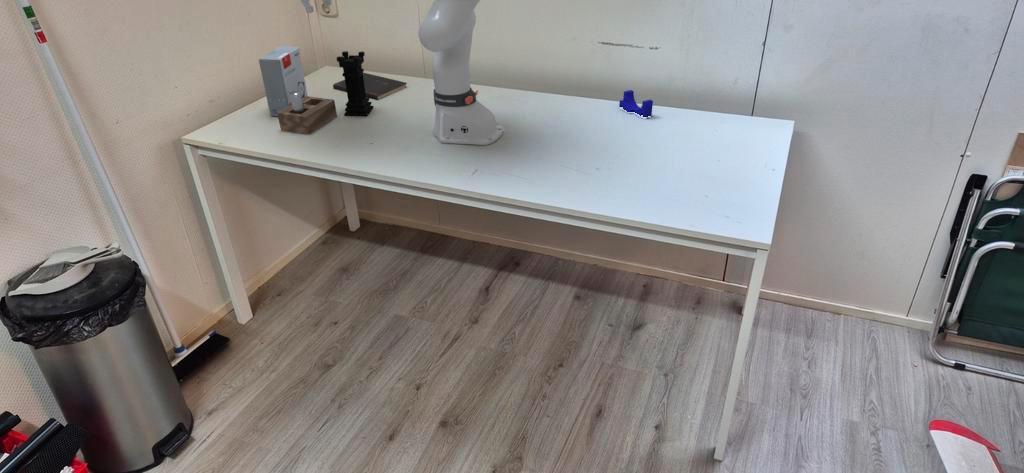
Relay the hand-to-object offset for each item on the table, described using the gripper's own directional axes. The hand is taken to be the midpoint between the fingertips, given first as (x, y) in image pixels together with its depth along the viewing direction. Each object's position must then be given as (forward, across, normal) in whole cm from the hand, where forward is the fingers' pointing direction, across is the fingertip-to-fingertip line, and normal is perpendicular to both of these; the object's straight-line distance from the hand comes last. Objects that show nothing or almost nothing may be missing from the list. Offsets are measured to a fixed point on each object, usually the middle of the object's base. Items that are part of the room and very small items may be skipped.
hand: (319, 8), depth 198 cm
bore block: (+37, -3, +9) cm, 38 cm away
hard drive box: (+37, +6, +24) cm, 45 cm away
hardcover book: (+38, +33, +8) cm, 51 cm away
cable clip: (+37, +40, -91) cm, 106 cm away
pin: (+35, -7, +9) cm, 37 cm away
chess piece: (+37, +11, -1) cm, 39 cm away
